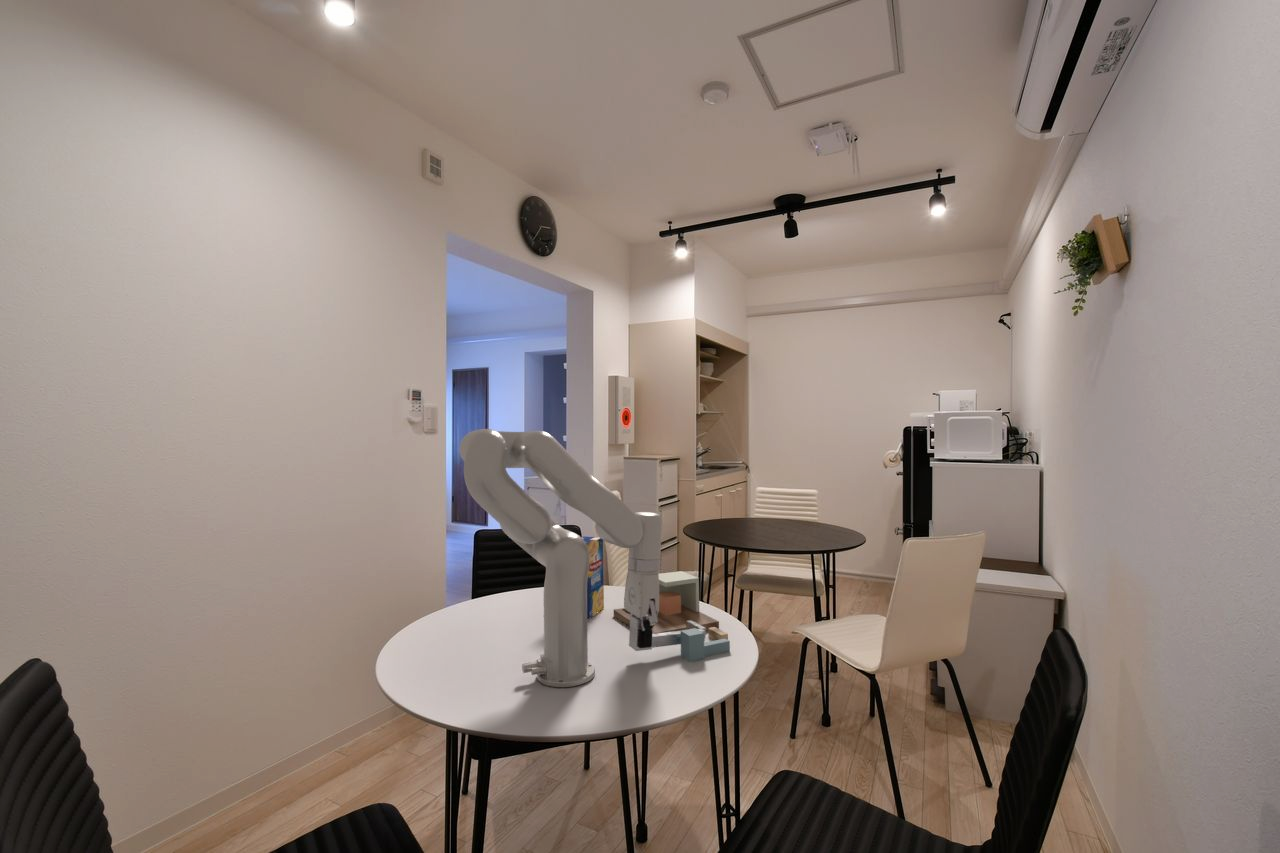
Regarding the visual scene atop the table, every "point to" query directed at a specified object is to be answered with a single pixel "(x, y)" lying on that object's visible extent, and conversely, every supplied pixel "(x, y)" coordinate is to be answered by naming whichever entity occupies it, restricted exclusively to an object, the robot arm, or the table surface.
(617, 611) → the deck
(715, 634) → the short block
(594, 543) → the blue food box
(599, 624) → the table surface
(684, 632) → the light blue l-shaped block
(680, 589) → the cubby
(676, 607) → the cube
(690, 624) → the crook
